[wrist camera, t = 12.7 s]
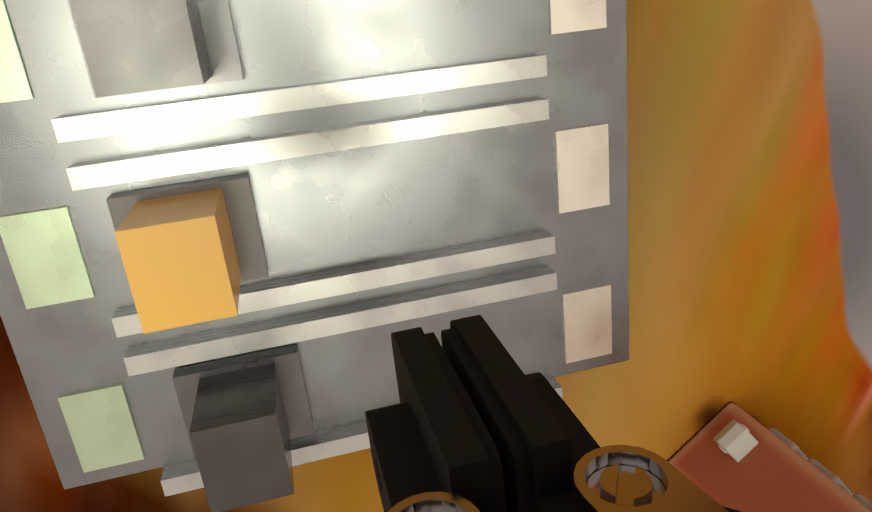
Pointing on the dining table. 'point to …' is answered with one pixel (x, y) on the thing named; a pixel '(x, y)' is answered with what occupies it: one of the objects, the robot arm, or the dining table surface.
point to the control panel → (760, 469)
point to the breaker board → (304, 213)
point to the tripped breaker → (188, 249)
